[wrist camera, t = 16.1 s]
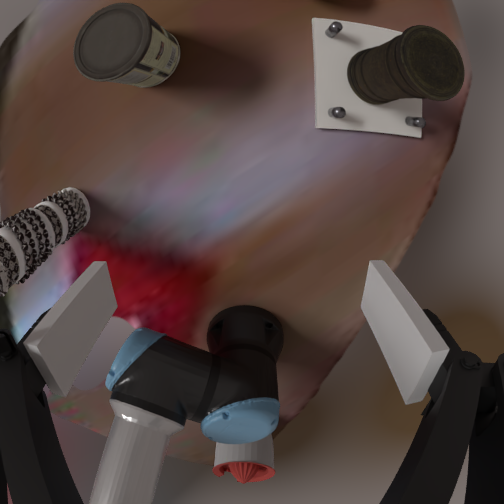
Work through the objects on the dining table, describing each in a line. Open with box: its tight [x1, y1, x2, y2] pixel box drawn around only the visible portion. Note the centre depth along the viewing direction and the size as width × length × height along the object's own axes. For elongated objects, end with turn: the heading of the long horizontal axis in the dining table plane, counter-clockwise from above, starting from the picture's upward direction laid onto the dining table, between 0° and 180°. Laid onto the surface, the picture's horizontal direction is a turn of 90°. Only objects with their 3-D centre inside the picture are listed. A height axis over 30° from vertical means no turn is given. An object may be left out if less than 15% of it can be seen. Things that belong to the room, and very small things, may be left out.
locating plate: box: [312, 18, 426, 138], centre depth 35 cm, size 18×18×5 cm
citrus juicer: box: [213, 434, 275, 484], centre depth 65 cm, size 16×17×20 cm
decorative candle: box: [0, 187, 90, 296], centre depth 36 cm, size 9×9×25 cm
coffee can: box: [74, 3, 180, 87], centre depth 30 cm, size 10×10×14 cm
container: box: [347, 25, 464, 105], centre depth 28 cm, size 9×9×18 cm
